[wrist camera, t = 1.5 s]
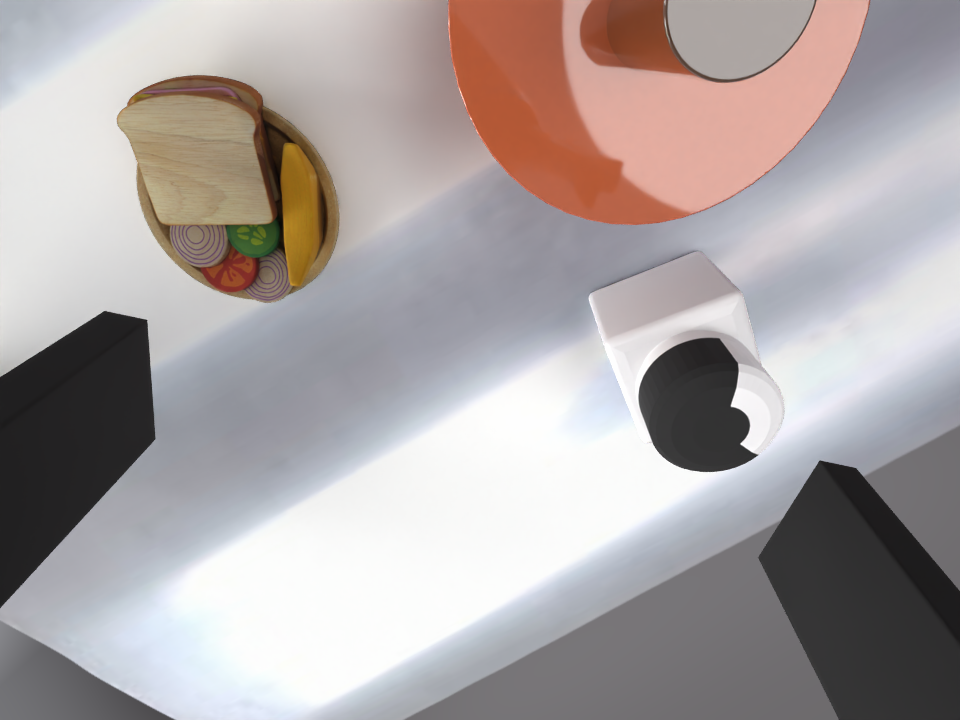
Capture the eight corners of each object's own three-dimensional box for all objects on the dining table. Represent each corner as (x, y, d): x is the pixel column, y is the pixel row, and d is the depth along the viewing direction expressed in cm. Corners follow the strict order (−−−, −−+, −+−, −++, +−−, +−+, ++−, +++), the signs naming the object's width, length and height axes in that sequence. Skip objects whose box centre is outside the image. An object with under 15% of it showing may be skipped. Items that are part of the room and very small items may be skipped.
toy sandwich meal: (162, 281, 39) (121, 308, 35) (128, 61, 33) (73, 62, 29) (343, 304, 40) (323, 333, 35) (344, 90, 33) (320, 95, 29)
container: (622, 383, 42) (665, 508, 30) (586, 292, 38) (619, 393, 27) (728, 345, 40) (817, 463, 28) (700, 247, 37) (788, 335, 25)
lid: (392, -147, 20) (302, -306, 11) (860, -345, 18) (1225, -757, 9) (509, 257, 27) (511, 357, 18) (858, 160, 25) (1062, 221, 16)
